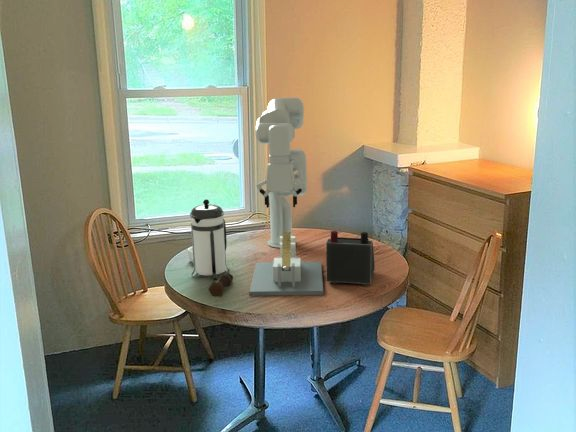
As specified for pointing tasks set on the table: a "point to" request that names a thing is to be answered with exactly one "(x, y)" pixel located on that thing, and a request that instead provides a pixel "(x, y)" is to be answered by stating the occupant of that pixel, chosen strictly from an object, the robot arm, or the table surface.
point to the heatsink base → (286, 289)
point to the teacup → (190, 253)
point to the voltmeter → (349, 259)
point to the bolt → (220, 285)
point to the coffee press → (208, 240)
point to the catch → (293, 247)
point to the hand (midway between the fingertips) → (281, 206)
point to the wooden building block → (286, 251)
